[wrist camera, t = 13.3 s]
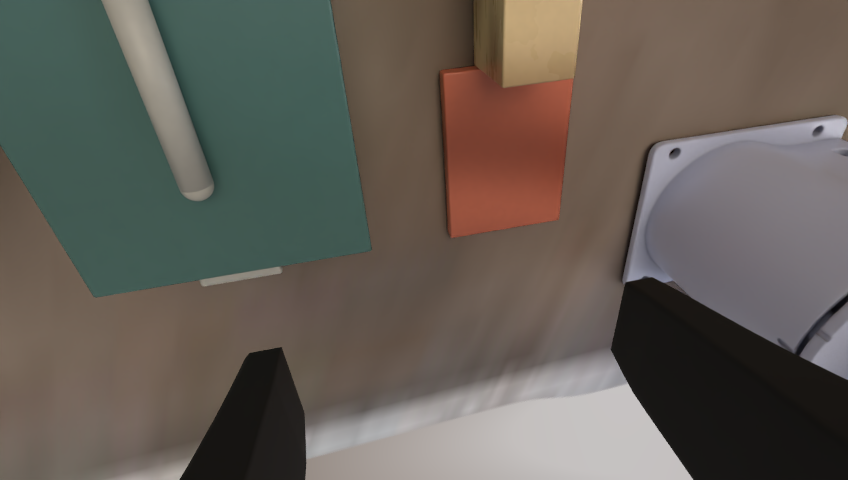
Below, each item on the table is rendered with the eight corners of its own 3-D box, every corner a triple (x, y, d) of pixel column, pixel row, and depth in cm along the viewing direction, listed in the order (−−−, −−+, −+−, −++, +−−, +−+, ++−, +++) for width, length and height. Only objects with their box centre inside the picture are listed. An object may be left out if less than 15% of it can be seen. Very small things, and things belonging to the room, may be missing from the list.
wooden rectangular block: (554, 213, 21) (587, 252, 19) (447, 231, 21) (466, 274, 18) (614, -423, 11) (704, -531, 9) (412, -423, 11) (442, -538, 8)
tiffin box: (290, -236, 12) (270, -363, 7) (361, 186, 19) (377, 279, 14) (-51, -221, 11) (-366, -354, 6) (153, 218, 18) (87, 330, 13)
